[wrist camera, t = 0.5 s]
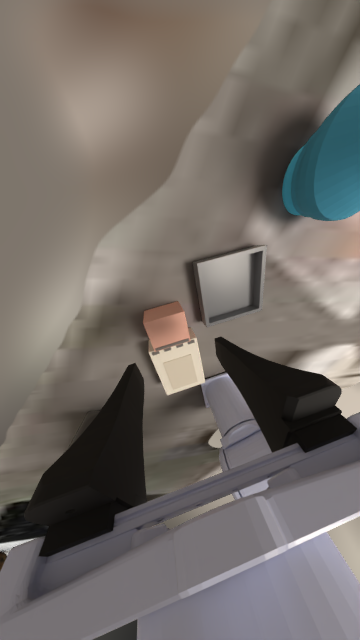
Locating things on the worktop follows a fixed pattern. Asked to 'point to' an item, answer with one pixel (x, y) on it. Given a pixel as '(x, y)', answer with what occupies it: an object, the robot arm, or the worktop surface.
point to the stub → (166, 326)
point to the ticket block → (179, 365)
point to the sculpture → (2, 559)
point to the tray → (230, 284)
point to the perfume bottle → (328, 167)
